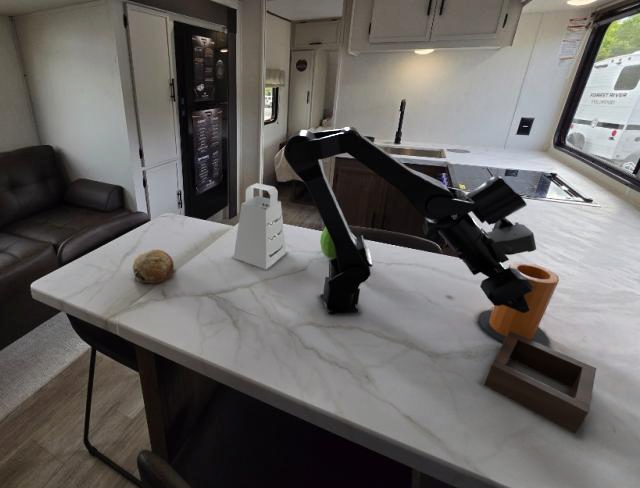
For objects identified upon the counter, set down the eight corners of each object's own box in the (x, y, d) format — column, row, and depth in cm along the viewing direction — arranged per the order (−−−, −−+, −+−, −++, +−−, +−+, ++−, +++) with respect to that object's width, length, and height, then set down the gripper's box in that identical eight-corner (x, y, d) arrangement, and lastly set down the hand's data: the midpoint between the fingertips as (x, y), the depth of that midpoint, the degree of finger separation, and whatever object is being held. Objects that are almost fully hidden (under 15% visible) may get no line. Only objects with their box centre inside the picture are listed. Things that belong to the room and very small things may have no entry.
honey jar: (522, 346, 62) (548, 287, 57) (481, 323, 68) (501, 268, 63) (540, 332, 66) (566, 275, 60) (500, 312, 71) (520, 258, 66)
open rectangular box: (575, 434, 48) (588, 412, 46) (483, 384, 55) (491, 364, 54) (584, 388, 55) (596, 368, 53) (501, 349, 62) (509, 330, 60)
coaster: (507, 353, 62) (508, 351, 61) (465, 313, 72) (465, 311, 71) (563, 348, 62) (564, 346, 62) (513, 310, 72) (514, 308, 72)
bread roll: (132, 287, 87) (119, 269, 81) (152, 255, 93) (140, 236, 87) (165, 295, 83) (153, 278, 78) (183, 262, 89) (174, 243, 84)
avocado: (316, 261, 91) (320, 220, 86) (321, 248, 97) (325, 209, 93) (347, 267, 88) (353, 225, 83) (350, 253, 95) (356, 213, 90)
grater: (254, 243, 101) (255, 178, 93) (285, 253, 95) (289, 185, 87) (233, 257, 93) (232, 188, 85) (266, 269, 88) (268, 196, 79)
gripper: (539, 235, 50) (597, 307, 52) (488, 194, 67) (534, 250, 69) (465, 272, 55) (521, 337, 57) (435, 226, 72) (479, 277, 74)
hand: (514, 296), depth 64 cm, fingers open, 9 cm apart
